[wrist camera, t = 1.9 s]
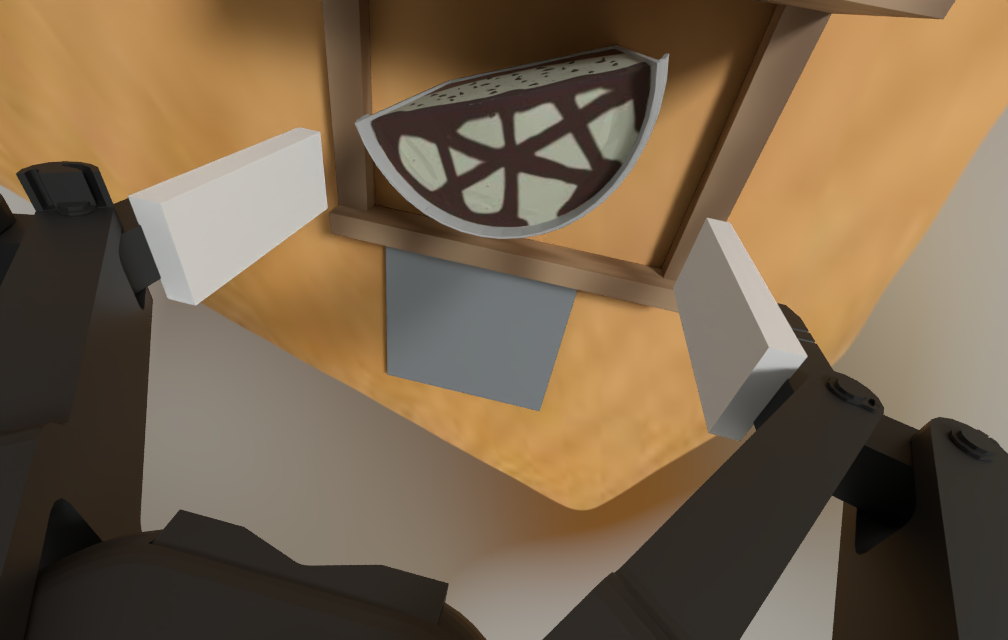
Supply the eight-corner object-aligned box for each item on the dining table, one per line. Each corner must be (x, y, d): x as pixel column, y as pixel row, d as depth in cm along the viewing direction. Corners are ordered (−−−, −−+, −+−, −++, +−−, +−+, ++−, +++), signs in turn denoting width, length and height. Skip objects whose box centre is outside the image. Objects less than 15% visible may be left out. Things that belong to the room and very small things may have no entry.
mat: (389, 369, 39) (387, 374, 39) (388, 230, 31) (385, 234, 30) (540, 406, 39) (539, 411, 38) (581, 274, 30) (580, 278, 30)
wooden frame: (348, 218, 31) (273, 283, 24) (324, -126, 20) (175, -196, 13) (681, 293, 30) (708, 386, 23) (840, -29, 19) (985, -46, 12)
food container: (451, 190, 28) (394, 263, 20) (423, 85, 25) (342, 125, 17) (649, 161, 25) (673, 235, 17) (648, 37, 22) (677, 58, 14)
